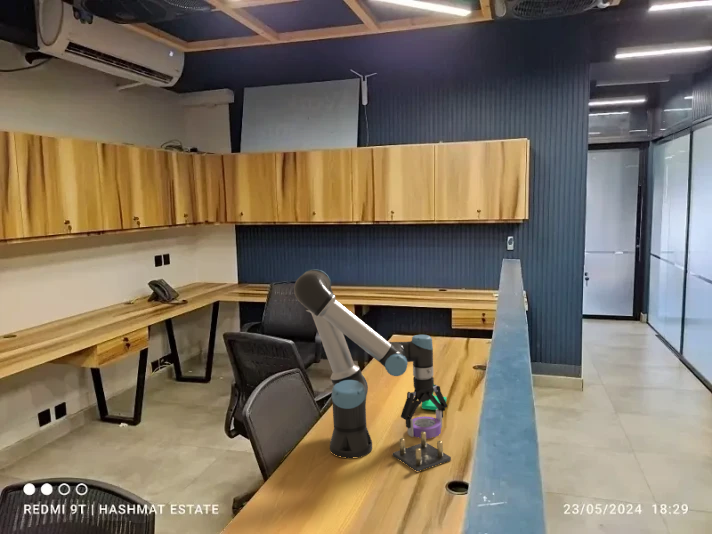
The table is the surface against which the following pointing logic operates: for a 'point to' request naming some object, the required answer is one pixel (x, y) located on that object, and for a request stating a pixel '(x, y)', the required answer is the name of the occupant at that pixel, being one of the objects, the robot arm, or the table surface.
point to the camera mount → (429, 403)
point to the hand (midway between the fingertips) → (425, 431)
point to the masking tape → (426, 426)
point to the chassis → (421, 454)
